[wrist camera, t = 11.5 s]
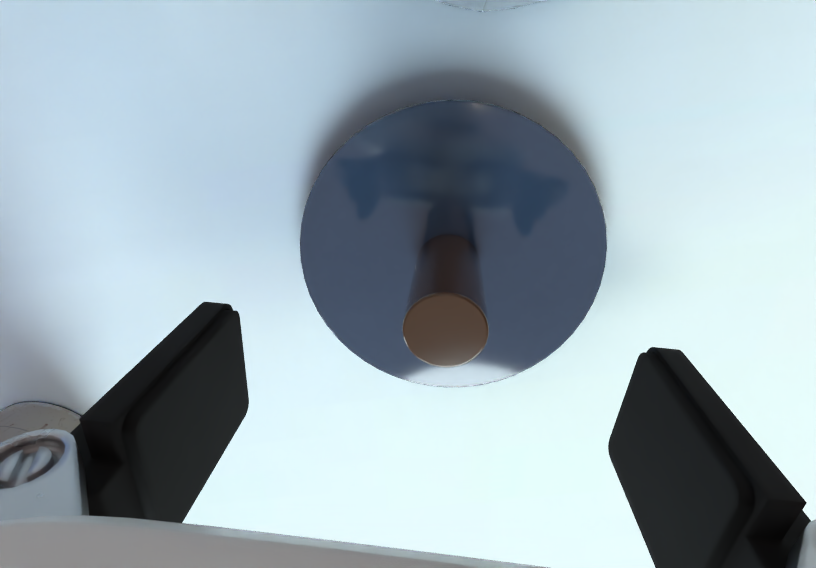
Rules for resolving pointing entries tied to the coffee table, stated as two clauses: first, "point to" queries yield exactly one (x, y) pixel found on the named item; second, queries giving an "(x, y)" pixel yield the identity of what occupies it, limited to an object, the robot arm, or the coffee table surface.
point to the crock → (488, 4)
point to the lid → (453, 243)
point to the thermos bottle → (35, 419)
